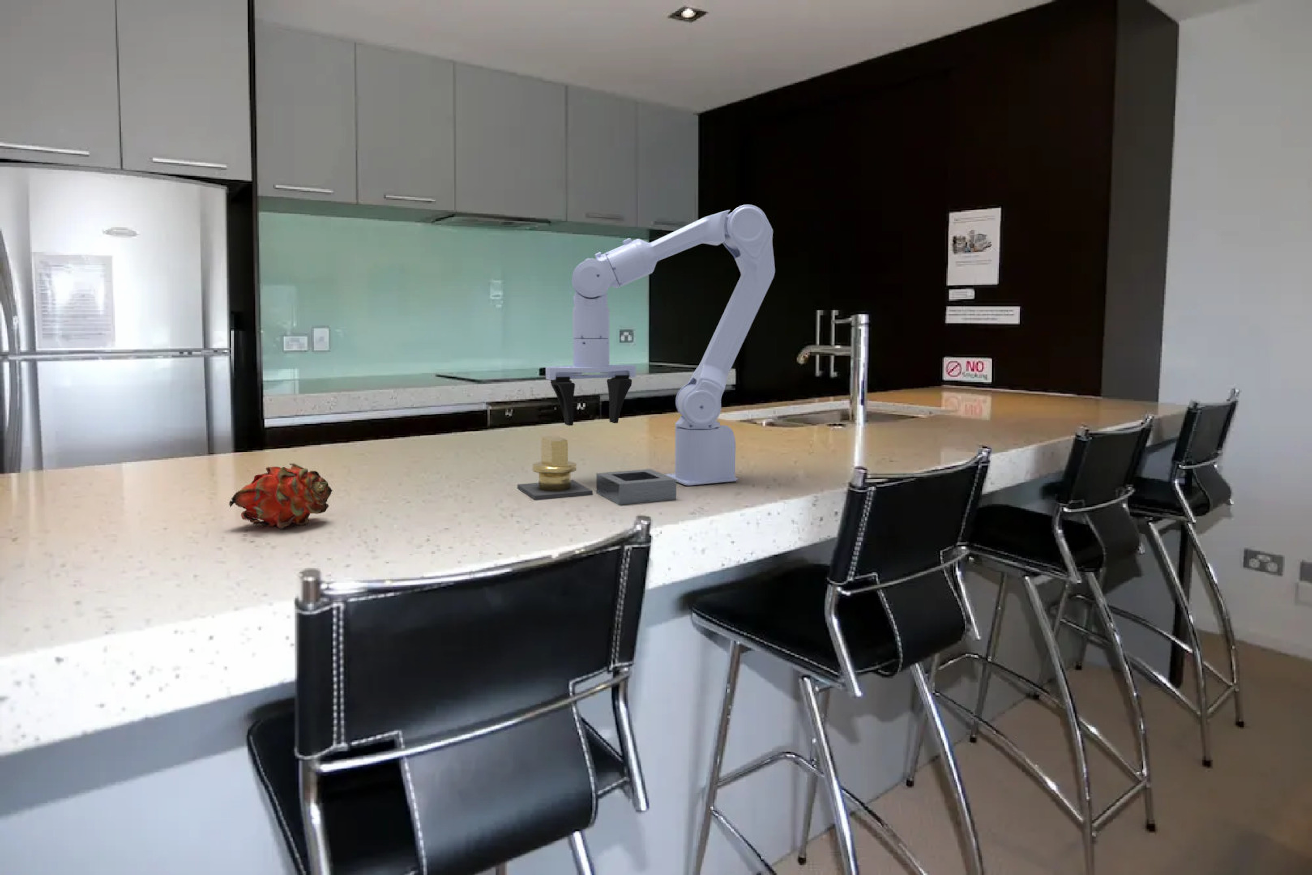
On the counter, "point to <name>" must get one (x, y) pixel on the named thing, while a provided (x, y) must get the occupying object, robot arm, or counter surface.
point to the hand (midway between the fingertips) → (591, 423)
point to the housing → (635, 486)
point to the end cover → (554, 465)
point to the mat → (537, 494)
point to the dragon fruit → (283, 496)
